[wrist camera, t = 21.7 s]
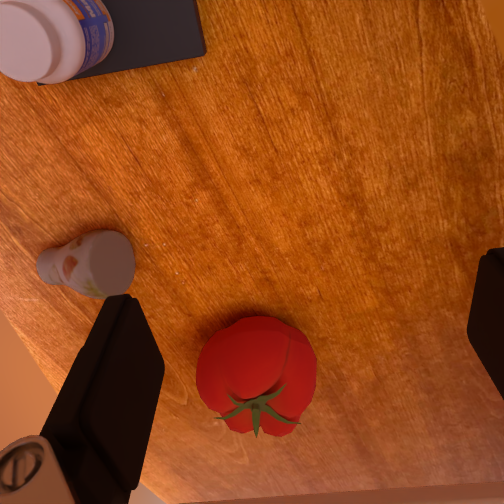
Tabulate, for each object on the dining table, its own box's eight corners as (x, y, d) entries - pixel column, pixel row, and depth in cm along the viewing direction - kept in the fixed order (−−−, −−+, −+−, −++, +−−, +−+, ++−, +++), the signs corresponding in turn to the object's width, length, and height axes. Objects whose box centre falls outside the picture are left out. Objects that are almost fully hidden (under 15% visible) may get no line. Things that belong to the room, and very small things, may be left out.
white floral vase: (28, 234, 44) (17, 258, 35) (119, 212, 47) (130, 228, 38) (51, 296, 46) (46, 333, 37) (135, 271, 49) (150, 299, 40)
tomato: (181, 329, 51) (164, 411, 41) (276, 279, 46) (281, 359, 37) (242, 384, 57) (239, 468, 48) (331, 345, 53) (348, 429, 43)
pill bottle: (119, -1, 30) (68, 7, 22) (111, 74, 32) (63, 106, 24) (42, -29, 29) (-41, -31, 21) (41, 52, 32) (-33, 77, 24)
